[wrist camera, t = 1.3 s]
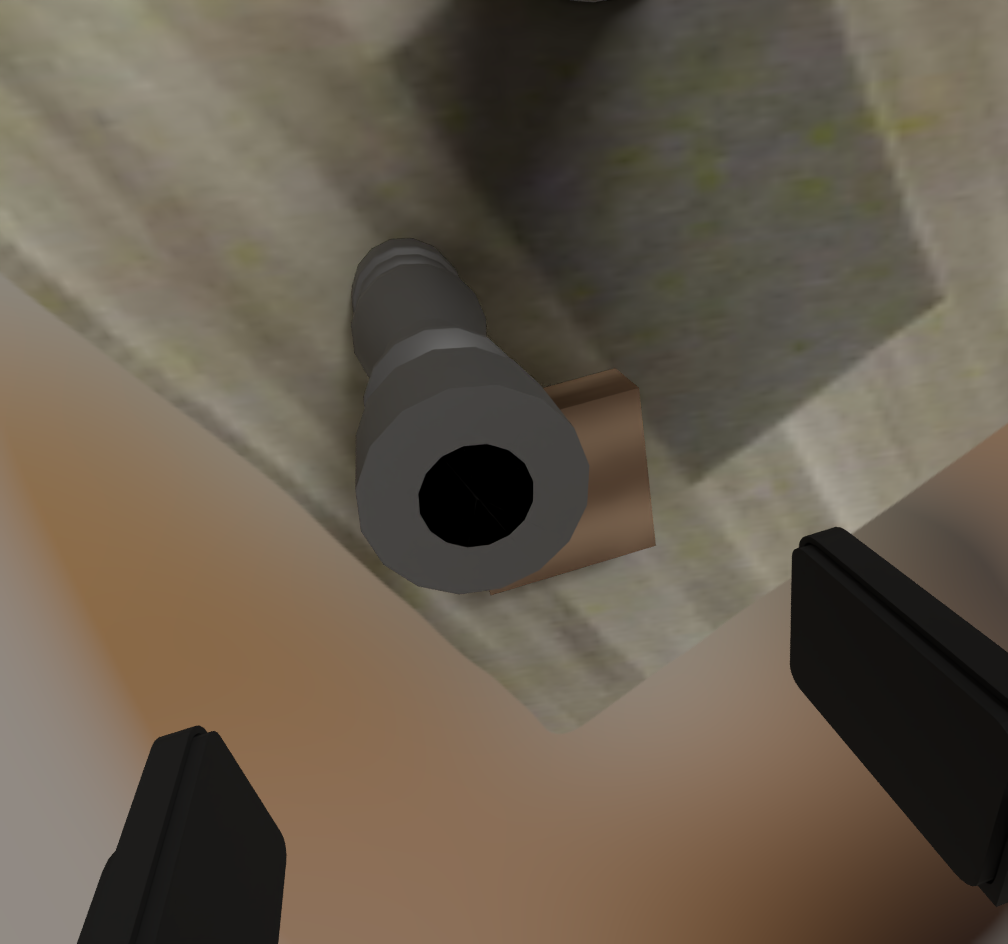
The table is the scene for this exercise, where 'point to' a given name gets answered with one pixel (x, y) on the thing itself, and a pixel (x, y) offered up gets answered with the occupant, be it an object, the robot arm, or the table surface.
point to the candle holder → (454, 434)
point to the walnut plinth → (604, 473)
